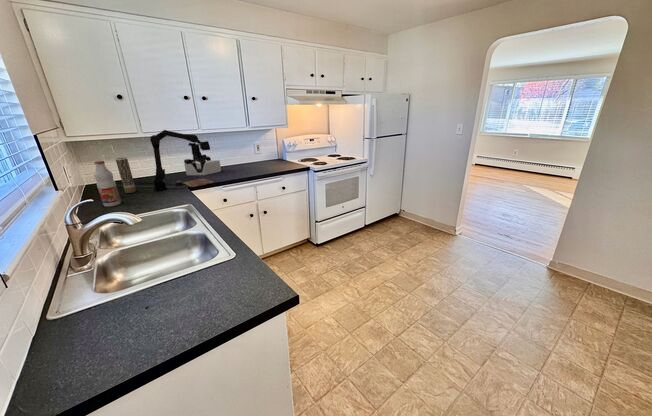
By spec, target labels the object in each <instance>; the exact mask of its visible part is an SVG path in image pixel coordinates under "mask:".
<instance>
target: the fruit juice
mask: <svg viewBox="0 0 652 416" xmlns="http://www.w3.org/2000/svg"><path fill="white" fill-rule="evenodd" d="M94 165H95V172H94V174H93V177H94V179H95V181H96V187H97V190H98V193H99V197H100V198H101V202H102V205H103V207H116V206H118V205H121V204H122V199H121V196H120V193H119V189H118V186H117V183H116V181H115V180H114V174H113V172H112V171H110V170H109V169H108V167H106V163H105V161H104V160H95V161H94Z"/></svg>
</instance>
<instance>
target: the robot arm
mask: <svg viewBox="0 0 652 416" xmlns="http://www.w3.org/2000/svg"><path fill="white" fill-rule="evenodd" d="M165 137H172V138H175V139H183V140H185V141H188V144H187V146H188V147H190V148H191V155H192V159H191V158H186V159H183V164H192V165H193V167H194V168H195V170H196V171H197V166H196V163H195V162H197V161H198V162H200V164H201V168H202V170H203V167H204V164H205V162H206V161H211V160H212V158H211V157H210V156H207V154H202V152H201V151H210V150H211V145H210V143H209V141H208V140H205V141H201V140H200V139H199V137H198V135H196V134H194V133H182V132H176V131H172V130H167V129H163V130H162V131H160V132H159V133H157V134H152V135H151V136H150V139H149V141H150V143H151V147H152V148H153V154H154V155H153V156H154V162H155V175H154V177H153V186H154V190H155V191H156V192H158V191H164V190H167V186H166V182H165V180H164V179H165V178H166V176H167V174H166V169H165V168H163V165H162V158H161V152H160V146H161V145H160V143H161V140H163V139H164V138H165Z"/></svg>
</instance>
